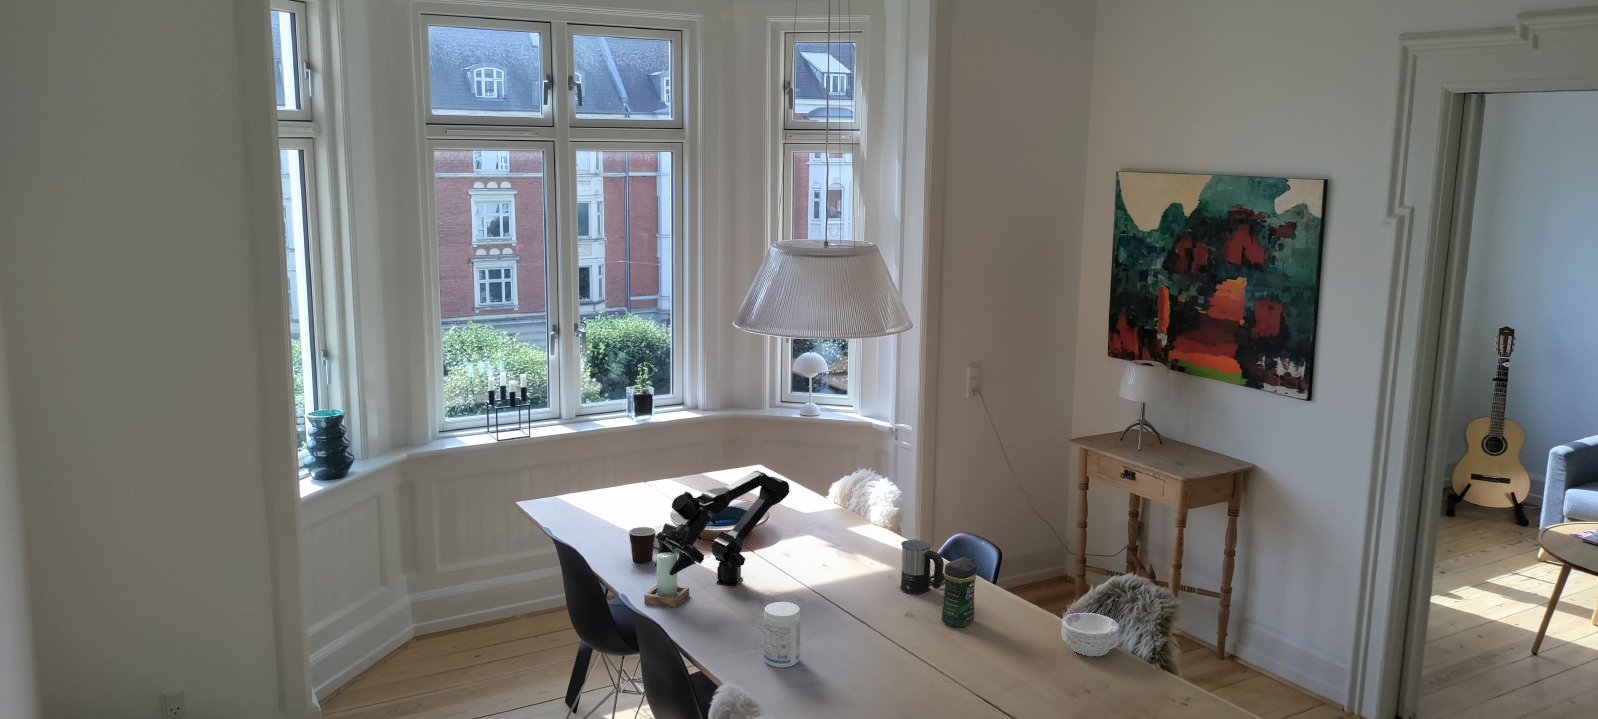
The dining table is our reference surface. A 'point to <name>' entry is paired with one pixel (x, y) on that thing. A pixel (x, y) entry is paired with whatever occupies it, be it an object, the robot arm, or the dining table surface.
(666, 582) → the pale green rounded part
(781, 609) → the supplement tub
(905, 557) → the milk frother
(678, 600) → the tray
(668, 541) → the robot arm
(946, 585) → the coffee jar
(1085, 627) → the paper bowls
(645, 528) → the coffee mug
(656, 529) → the ramekin
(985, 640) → the dining table surface
